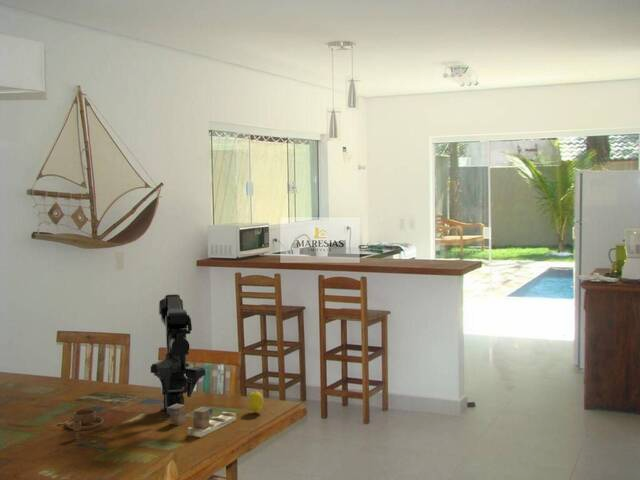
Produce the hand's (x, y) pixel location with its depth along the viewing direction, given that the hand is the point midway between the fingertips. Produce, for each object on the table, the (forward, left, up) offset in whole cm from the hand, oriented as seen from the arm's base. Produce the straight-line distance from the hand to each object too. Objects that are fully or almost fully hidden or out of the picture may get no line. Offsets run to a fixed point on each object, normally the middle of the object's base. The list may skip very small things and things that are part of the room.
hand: (177, 395), depth 256 cm
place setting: (-26, -20, -10) cm, 34 cm away
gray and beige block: (0, 0, -9) cm, 9 cm away
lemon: (+17, +22, -10) cm, 29 cm away
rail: (+13, +1, -9) cm, 16 cm away
